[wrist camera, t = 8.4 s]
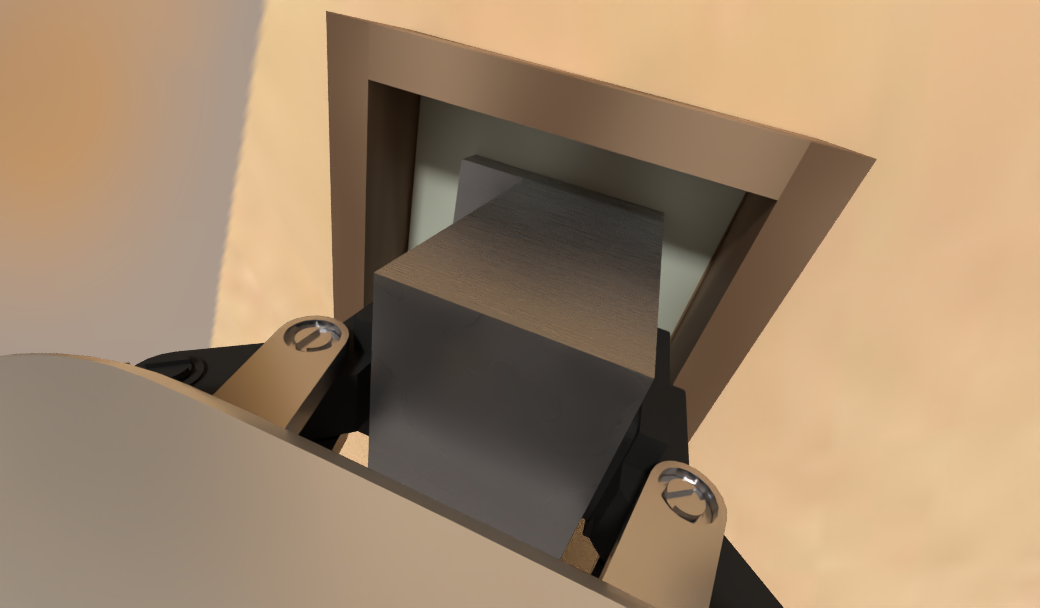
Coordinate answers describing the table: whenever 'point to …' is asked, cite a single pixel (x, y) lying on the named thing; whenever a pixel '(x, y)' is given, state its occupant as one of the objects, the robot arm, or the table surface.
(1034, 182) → the table surface
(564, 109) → the square wooden tray
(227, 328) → the table surface
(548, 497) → the grey block
